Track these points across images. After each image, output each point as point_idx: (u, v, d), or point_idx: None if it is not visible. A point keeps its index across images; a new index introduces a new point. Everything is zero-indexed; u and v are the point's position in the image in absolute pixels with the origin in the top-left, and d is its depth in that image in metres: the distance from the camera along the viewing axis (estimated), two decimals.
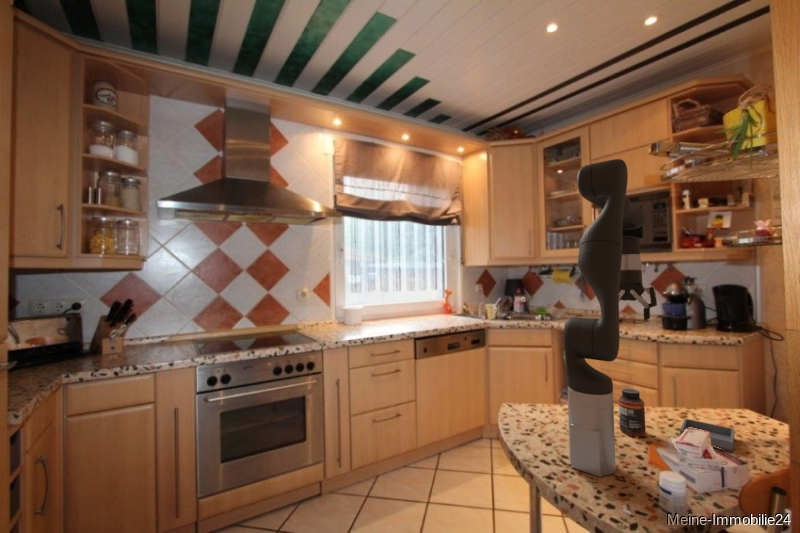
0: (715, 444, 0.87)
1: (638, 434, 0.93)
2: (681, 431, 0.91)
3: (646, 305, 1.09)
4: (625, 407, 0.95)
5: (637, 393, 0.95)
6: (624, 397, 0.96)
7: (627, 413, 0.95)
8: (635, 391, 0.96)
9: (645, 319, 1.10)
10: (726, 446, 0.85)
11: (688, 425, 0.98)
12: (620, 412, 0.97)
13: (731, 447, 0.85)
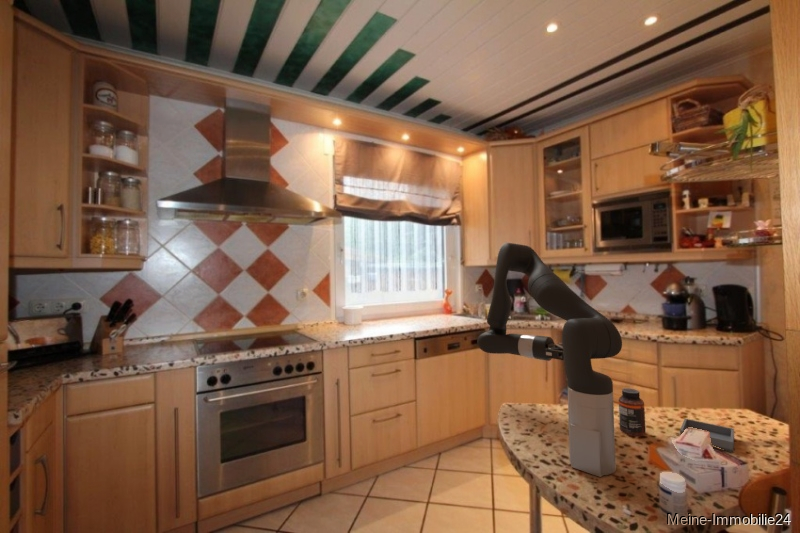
0: (715, 444, 0.87)
1: (638, 434, 0.93)
2: (681, 431, 0.91)
3: None
4: (625, 407, 0.95)
5: (637, 393, 0.95)
6: (624, 397, 0.96)
7: (627, 413, 0.95)
8: (635, 391, 0.96)
9: None
10: (726, 446, 0.85)
11: (688, 425, 0.98)
12: (620, 412, 0.97)
13: (731, 447, 0.85)
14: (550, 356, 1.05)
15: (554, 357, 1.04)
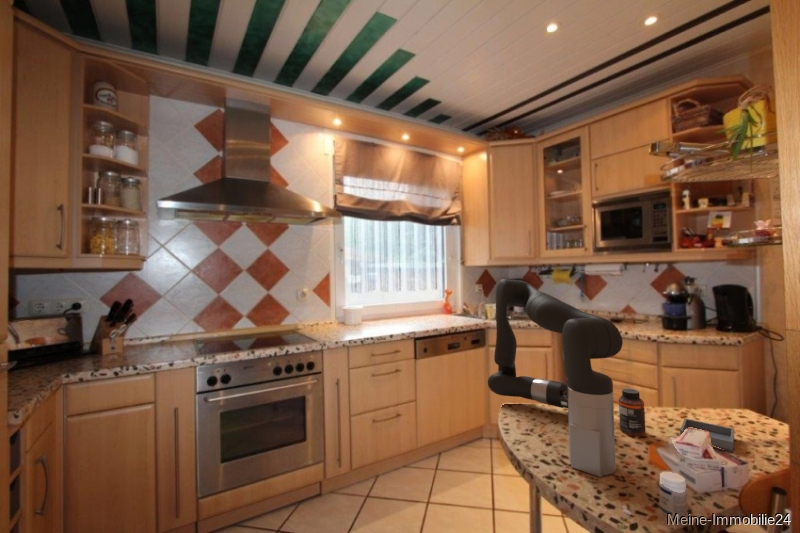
0: (715, 444, 0.87)
1: (638, 434, 0.93)
2: (681, 431, 0.91)
3: None
4: (625, 407, 0.95)
5: (637, 393, 0.95)
6: (623, 397, 0.96)
7: (627, 413, 0.95)
8: (635, 391, 0.96)
9: None
10: (726, 446, 0.85)
11: (688, 425, 0.98)
12: (620, 412, 0.97)
13: (731, 447, 0.85)
14: (566, 406, 1.02)
15: None
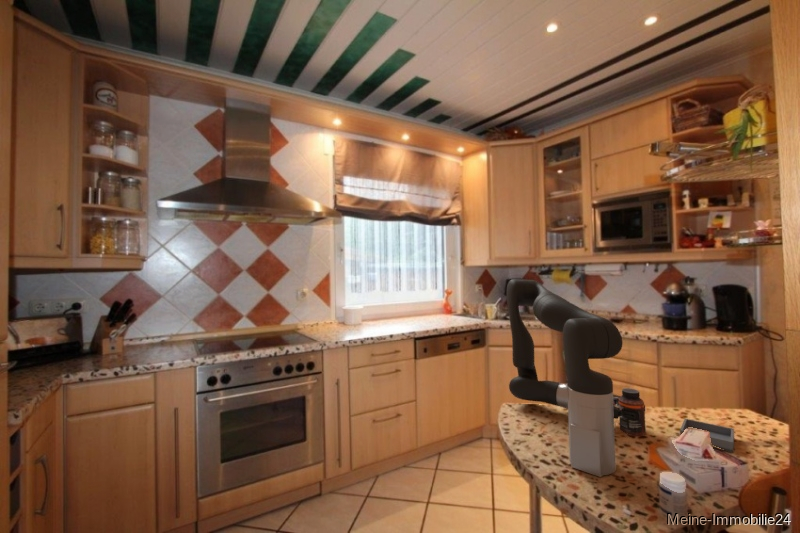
0: (715, 444, 0.87)
1: (638, 434, 0.93)
2: (681, 431, 0.91)
3: None
4: (625, 407, 0.95)
5: (637, 393, 0.95)
6: (623, 396, 0.96)
7: None
8: (635, 391, 0.96)
9: None
10: (726, 446, 0.85)
11: (688, 425, 0.98)
12: None
13: (731, 447, 0.85)
14: None
15: None
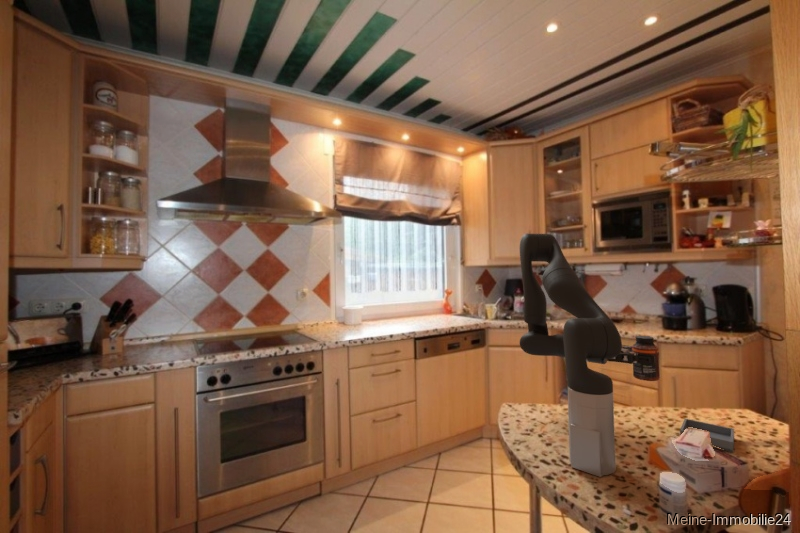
0: (715, 444, 0.87)
1: (652, 379, 0.93)
2: (681, 431, 0.91)
3: None
4: (639, 353, 0.95)
5: (651, 338, 0.94)
6: (638, 343, 0.96)
7: None
8: (649, 337, 0.95)
9: None
10: (726, 446, 0.85)
11: (688, 425, 0.98)
12: None
13: (731, 447, 0.85)
14: (613, 359, 0.95)
15: (619, 360, 0.95)
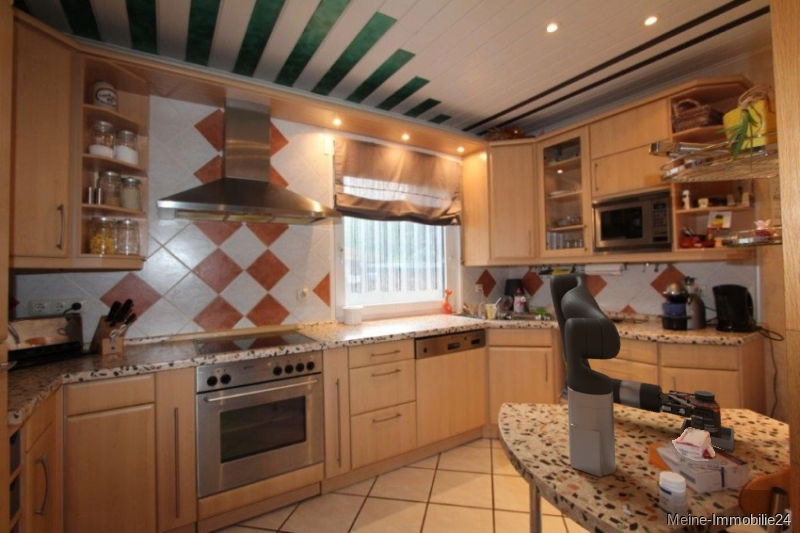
0: (715, 444, 0.87)
1: None
2: (681, 431, 0.91)
3: (694, 396, 0.97)
4: None
5: (713, 395, 0.90)
6: (697, 399, 0.92)
7: (702, 417, 0.90)
8: (710, 393, 0.91)
9: None
10: (726, 446, 0.85)
11: (688, 425, 0.98)
12: None
13: (731, 447, 0.85)
14: (669, 411, 0.92)
15: (674, 413, 0.91)
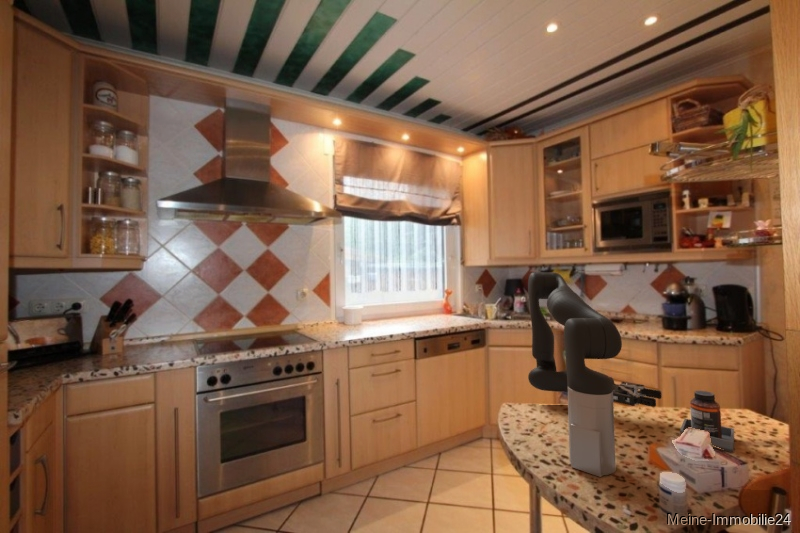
0: (715, 444, 0.87)
1: None
2: (681, 431, 0.91)
3: (642, 387, 1.05)
4: (699, 410, 0.91)
5: (712, 395, 0.90)
6: (697, 399, 0.92)
7: (702, 417, 0.90)
8: (710, 393, 0.91)
9: (659, 391, 1.02)
10: (726, 446, 0.85)
11: (688, 425, 0.98)
12: (693, 415, 0.92)
13: (731, 447, 0.85)
14: (616, 400, 1.00)
15: (621, 401, 0.99)
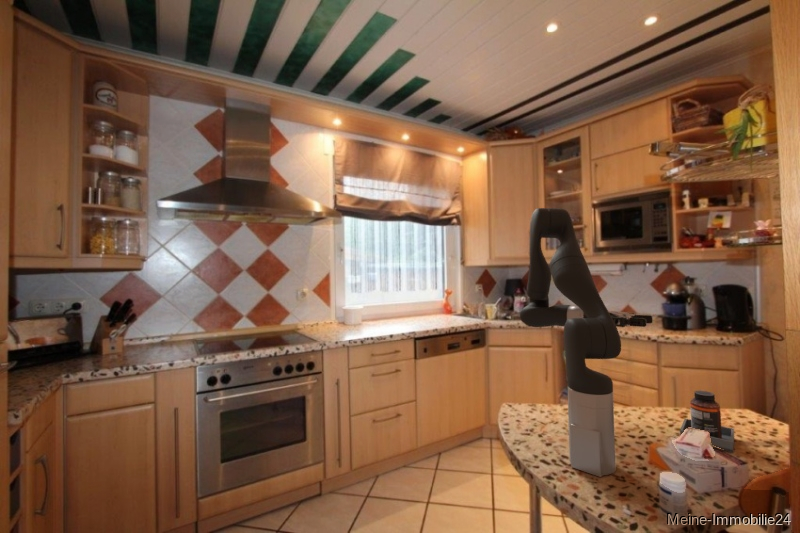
0: (715, 444, 0.87)
1: None
2: (681, 431, 0.91)
3: (633, 314, 1.05)
4: (699, 410, 0.91)
5: (712, 395, 0.90)
6: (697, 399, 0.92)
7: (702, 417, 0.90)
8: (710, 393, 0.91)
9: (650, 315, 1.01)
10: (726, 446, 0.85)
11: (688, 425, 0.98)
12: (693, 415, 0.92)
13: (731, 447, 0.85)
14: None
15: None
